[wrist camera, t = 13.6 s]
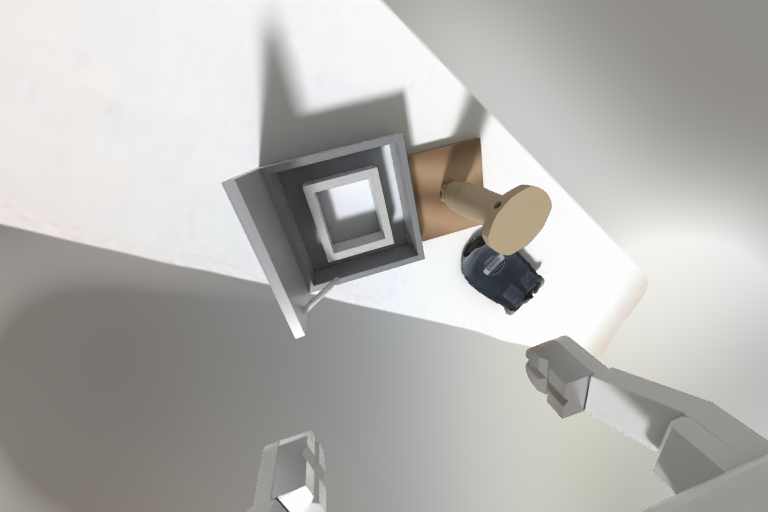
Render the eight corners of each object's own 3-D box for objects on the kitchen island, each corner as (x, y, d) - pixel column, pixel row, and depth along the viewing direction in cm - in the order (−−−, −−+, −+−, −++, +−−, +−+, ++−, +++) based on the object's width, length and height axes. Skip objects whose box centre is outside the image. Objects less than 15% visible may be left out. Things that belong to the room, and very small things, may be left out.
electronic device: (532, 264, 49) (490, 219, 41) (554, 284, 44) (511, 238, 37) (492, 297, 52) (445, 261, 44) (509, 318, 47) (460, 283, 39)
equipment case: (258, 167, 32) (221, 182, 21) (393, 133, 34) (429, 130, 22) (304, 279, 39) (295, 338, 28) (414, 246, 41) (451, 290, 29)
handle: (476, 183, 38) (560, 207, 24) (447, 220, 39) (511, 263, 25) (452, 161, 36) (529, 175, 22) (422, 201, 37) (478, 237, 24)
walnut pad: (405, 156, 35) (407, 156, 34) (476, 137, 36) (480, 137, 35) (420, 239, 40) (422, 241, 40) (481, 221, 41) (485, 223, 40)
